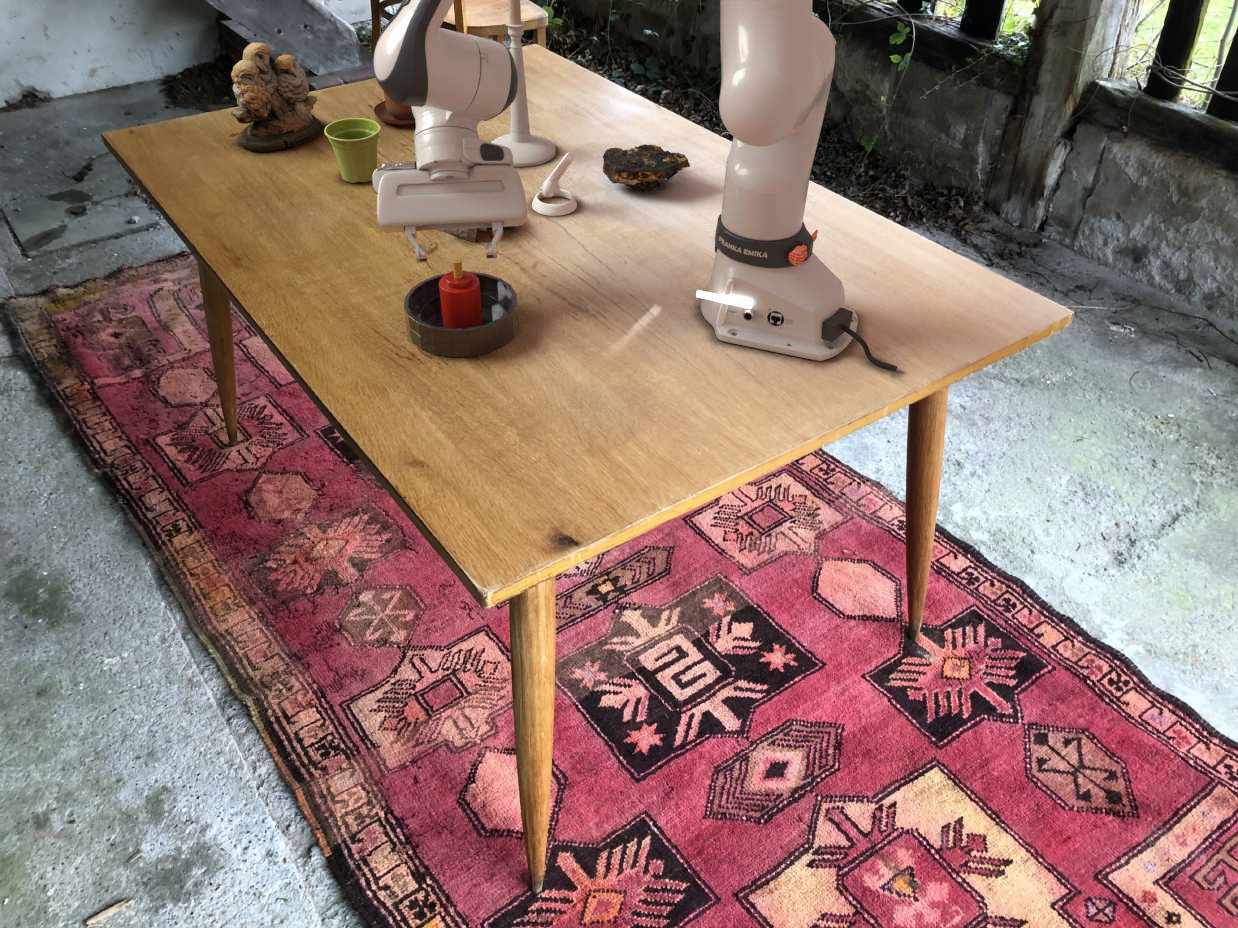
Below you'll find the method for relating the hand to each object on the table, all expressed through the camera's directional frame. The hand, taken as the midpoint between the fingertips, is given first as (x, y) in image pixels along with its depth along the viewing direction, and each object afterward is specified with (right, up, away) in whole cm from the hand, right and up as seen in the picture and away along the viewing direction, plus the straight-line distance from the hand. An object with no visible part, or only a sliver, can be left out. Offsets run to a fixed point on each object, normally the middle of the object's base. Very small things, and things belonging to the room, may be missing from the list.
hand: (457, 259), depth 133 cm
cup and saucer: (-20, +40, +60) cm, 75 cm away
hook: (+11, +16, +33) cm, 38 cm away
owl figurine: (-42, +34, +52) cm, 75 cm away
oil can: (0, -9, +3) cm, 9 cm away
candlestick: (+4, +30, +49) cm, 58 cm away
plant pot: (-24, +23, +40) cm, 52 cm away
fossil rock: (+27, +22, +40) cm, 53 cm away
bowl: (0, -9, +3) cm, 10 cm away
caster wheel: (-1, +11, +27) cm, 29 cm away
